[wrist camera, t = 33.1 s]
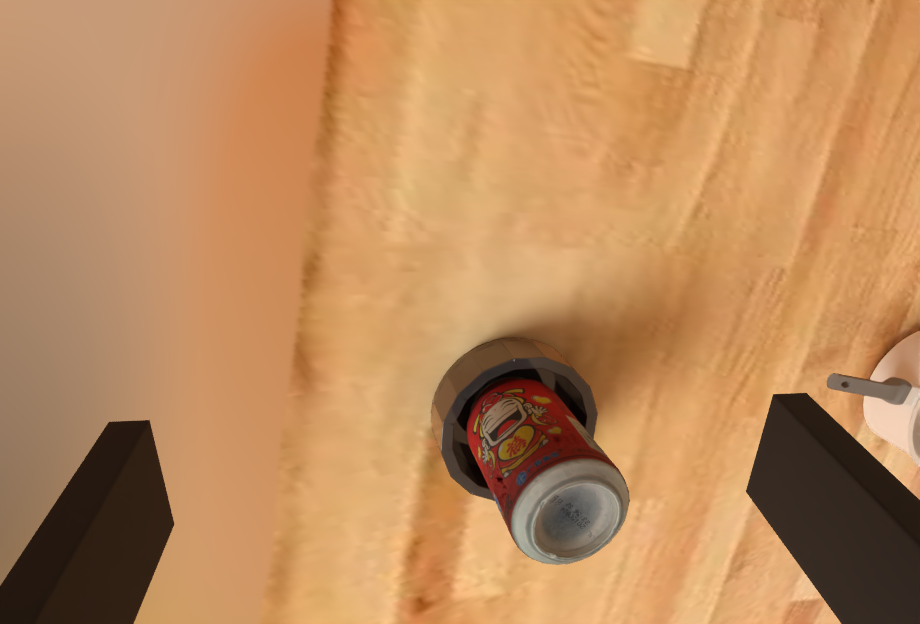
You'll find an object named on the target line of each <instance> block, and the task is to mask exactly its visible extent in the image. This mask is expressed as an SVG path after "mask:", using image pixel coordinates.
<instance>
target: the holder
mask: <svg viewBox="0 0 920 624" xmlns="http://www.w3.org/2000/svg"><path fill="white" fill-rule="evenodd" d="M505 377H521V378H525V379H532V380H536V381H538V382H541V383H543V384H545V385H547V386H548V387H549V388H550V389H552V390H553V391H554V392H555V393H556V395H557V396H558V397H559V398H560V399H561V401H562V402H563V403H564V404H565V405H566V407H567V408H568V409H569V411H570V412H571V413H572V414H573V415H574V416H575V418H576V419H577V420H578V421H579V423H580V424H581V425H582V426H583V427H584V429H585V430H586V431H587V432H588V433H589V435H590V436H591V437H592V438H593V439H594V432H595V426H596V420H597V409H596V405H595V402H594V398H593V394H592V391H591V388H590V386H589V385H588V384H587V383H586V382H585V381H584V379H583V378H582V377H581V376H580V375H579V374H578V373H577V372H576V371H575V370H574V368H573V367H572V366H571V365H570V364H569V363H568V362H567V361H566V360H565V359H564V358H563V357H562V356H561V355H560V354H559V353H558V352H557V351H556V350H554V349H552V348H551V347H549V346H547V345H545V344H543V343H541V342H538V341H535V340H532V339H526V338H503V339H499V340H494V341H491V342H488V343H485V344H483V345H480V346H478V347H476V348H474V349H473V350H471V351H470V352H468V353H466V354H465V355H464V356H462V357H461V358H460V359H459V360H458V361H456V363H455V364H454V365H453V366H452V367H451V368H450V369H449V370H448V371H447V373H446V374H445V375H444V377H443V379H442V380H441V382H440V384H439V386H438V388H437V390H436V393H435V395H434V399H433V403H432V410H431V423H432V431H433V434H434V437H435V439H436V442H437V444H438V447H439V449H440V452H441V454H442V457H443V459H444V462H445V464H446V467H447V469H448V471H449V474H450V476H451V478H453V479H454V480H455V481H456V482H457V483H458V484H460V485H461V486H462V487H463V488H464V489H466V490H467V491H468V492H469V493H470V494H472V495H476V496H480V497H483V498H487V499H490V500H494V501H495V499H494V497H493V495H492V493H491V491H490V488H489V487H488V485H487V482H486V480H485V478H484V476H483V474H482V472H481V470H480V468H479V466H478V463H477V461H476V459H475V457H474V455H473V453H472V451H471V448H470V446H469V444H468V439H467V421H468V418H469V415H470V411H471V406H472V404H473V402H474V400H475V398H476V397H477V395H478V394H479V393H480V391H481V390H482V389H483V388H485V387H486V386H487V385H488V384H490V383H492V382H493V381H496V380H499V379H502V378H505Z"/></svg>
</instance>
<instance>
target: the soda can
mask: <svg viewBox="0 0 920 624" xmlns="http://www.w3.org/2000/svg"><path fill="white" fill-rule="evenodd" d="M467 439H468V444H469V446H470V448H471V451H472V453H473V455H474V457H475V459H476V461H477V463H478V466H479V468H480V470H481V472H482V474H483V476H484V478H485V480H486V482H487V485H488V487H489V488H490V491H491V493H492V495H493V497H494V499H495V501H496V504H497V506H498V508H499V510H500V512H501V514H502V517H503V519H504V521H505V523H506V525H507V527H508V530H509V532H510V534H511V536H512V538H513V540H514V542H515V543H516V545H517V547H518V548H519V549H520V550H521V551H522V552H523V553H524V554H526V555H527V556H528V557H530V558H531V559H534V560H536V561H539V562H542V563H545V564H555V565H560V564H569V563H573V562H577V561H580V560H583V559H585V558H587V557H590V556H592V555H593V554H595V553H596V552H598V551H599V550H600V549H602V548H603V547H604V546H606V545H607V544H608V543H609V542H610V541H611V540H612V539H613V538H614V536H615V535H616V534H617V533H618V531H619V530H620V528H621V526H622V525H623V523H624V521H625V518H626V514H627V510H628V505H629V502H630V499H629V491H628V488H627V485H626V482H625V480H624V478H623V476H622V474H621V473H620V471H619V469H618V468H617V467H616V466H615V465H614V464H613V463H612V461H611V460H610V459H609V458H608V457H607V455H606V454H605V453H604V451H603V450H602V449H601V448H600V447H599V446H598V445H597V443H596V442H595V441H594V440H593V438H592V437H591V436H590V435H589V433H588V432H587V431H586V430H585V429H584V427H583V426H582V425H581V424H580V423H579V421H578V420H577V419H576V418H575V416H574V415H573V414H572V413H571V412H570V411H569V409H568V408H567V407H566V405H565V404H564V403H563V402H562V401H561V399H560V398H559V397H558V396H557V395H556V393H555V392H554V391H553V390H552V389H550V388H549V387H548V386H547V385H545V384H543V383H541V382H538V381H536V380H532V379H525V378H521V377H505V378H502V379H499V380H496V381H493V382H492V383H490V384H488V385H487V386H486V387H485V388H483V389H482V390H481V391H480V393H479V394H478V395H477V397H476V398H475V400H474V402H473V404H472V406H471V411H470V415H469V418H468V421H467Z"/></svg>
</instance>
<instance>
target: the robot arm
mask: <svg viewBox="0 0 920 624" xmlns="http://www.w3.org/2000/svg"><path fill="white" fill-rule="evenodd" d="M746 492H747V494H748V495H749V496H750V498H751V499H752V501H753V502H754V503H755V505H756V506H757V507H758V509H759V510H760V512H761V513H762V514H763V516H764V517H765V519H766V520H767V521H768V523H769V524H770V525H771V527H772V528H773V530H774V531H775V532H776V534H777V535H778V536H779V538H780V539H781V541H782V542H783V543H784V545H785V546H786V548H787V549H788V550H789V552H790V553H791V554H792V556H793V557H794V559H795V560H796V561H797V563H798V564H799V565H800V567H801V568H802V570H803V571H804V572H805V574H806V575H807V577H808V578H809V579H810V581H811V582H812V583H813V585H814V586H815V588H816V589H817V590H818V592H819V593H820V594H821V596H822V597H823V599H824V600H825V601H826V603H827V604H828V606H829V607H830V608H831V610H832V611H833V612H834V614H835V615H836V617H837V618H838V619H839V621H840V622H841V623H842V624H920V500H919V499H918V498H917V497H916V496H915V495H914V494H913V493H911V492H910V491H909V490H908V489H907V488H906V487H905V486H904V485H903V484H902V483H901V482H900V481H899V480H898V479H897V478H896V477H895V476H893V475H892V474H891V473H890V472H889V471H888V470H887V469H886V468H885V467H884V466H883V465H882V464H881V463H880V462H879V461H878V460H877V459H875V458H874V457H873V456H872V455H871V454H870V453H869V452H868V451H867V450H866V449H865V448H864V447H863V446H862V445H861V444H860V443H859V442H858V441H856V440H855V439H854V438H853V437H852V436H851V435H850V434H849V433H848V432H847V431H846V430H845V429H844V428H843V427H842V426H841V425H840V424H838V423H837V422H836V421H835V420H834V419H833V418H832V417H831V416H830V415H829V414H828V413H827V412H826V411H825V410H824V409H823V408H822V407H820V406H819V405H818V404H817V403H816V402H815V401H814V400H813V399H812V398H811V397H810V396H809V395H808V394H807V393H795V394H773V397H772V401H771V405H770V408H769V412H768V415H767V419H766V422H765V426H764V429H763V433H762V436H761V440H760V444H759V447H758V451H757V454H756V458H755V461H754V465H753V468H752V472H751V476H750V479H749V483H748V486H747V490H746ZM173 526H174V521H173V517H172V513H171V509H170V505H169V501H168V496H167V492H166V488H165V483H164V479H163V475H162V471H161V467H160V463H159V458H158V454H157V450H156V446H155V441H154V437H153V433H152V429H151V425H150V421H149V420H145V421H122V422H109V423H108V424H107V426H106V427H105V429H104V431H103V432H102V433H101V435H100V436H99V438H98V439H97V441H96V443H95V444H94V446H93V447H92V449H91V450H90V452H89V453H88V455H87V456H86V458H85V459H84V461H83V462H82V464H81V465H80V467H79V468H78V470H77V471H76V473H75V474H74V476H73V477H72V479H71V480H70V482H69V483H68V485H67V486H66V488H65V489H64V491H63V492H62V494H61V495H60V497H59V498H58V500H57V501H56V503H55V504H54V506H53V507H52V509H51V510H50V512H49V513H48V515H47V516H46V518H45V519H44V521H43V522H42V524H41V525H40V527H39V528H38V530H37V531H36V533H35V535H34V536H33V537H32V539H31V540H30V542H29V543H28V545H27V547H26V548H25V550H24V551H23V553H22V554H21V556H20V557H19V559H18V560H17V562H16V563H15V565H14V566H13V568H12V569H11V571H10V572H9V574H8V575H7V577H6V578H5V580H4V581H3V583H2V584H1V586H0V624H133V623H134V621H135V619H136V616H137V614H138V611H139V609H140V606H141V604H142V601H143V599H144V597H145V594H146V592H147V589H148V587H149V584H150V582H151V580H152V577H153V575H154V572H155V570H156V567H157V565H158V562H159V560H160V557H161V555H162V553H163V550H164V548H165V545H166V543H167V540H168V538H169V536H170V533H171V531H172V528H173Z"/></svg>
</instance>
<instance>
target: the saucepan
mask: <svg viewBox="0 0 920 624" xmlns="http://www.w3.org/2000/svg"><path fill="white" fill-rule="evenodd" d="M827 387H828V388H830V389H834V390H839V391H844V392H849V393H854V394H859V395H864V405H863V410H864V417H865V420H866V422H867V425H868V427H869V428H870V429H871V430H872V432H874V433H875V434H876V435H878V436H879V437H881V438H883V439H884V440H886V441H887V442H889V443H891V444H892V445H894V446H895V447H897V448H899V449H900V450H902V451H903V452H905V453H907V454H908V455H910V456H911V457H912V459H913V460H914V462H915V463H916V464H917V466H919V467H920V331H917V332H915V333H914V334H912V335H910V336H908V337H906V338H905V339H903V340H902V341H901V342H899V343H898V344H896V345H895V346H894V347H893V348H892V349H891V350H890V351H889V352H888V353H887V354H886V355H885V356H884V357H883V359H882V360H881V361H880V362H879V364H878V365H877V367H876V368H875V370H874V372H873V373H872V376H871V378H870V380H868V379H862V378H857V377H852V376H847V375H841V374H836V373H833V374H831V375H830V376H829V377H828V379H827Z"/></svg>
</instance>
